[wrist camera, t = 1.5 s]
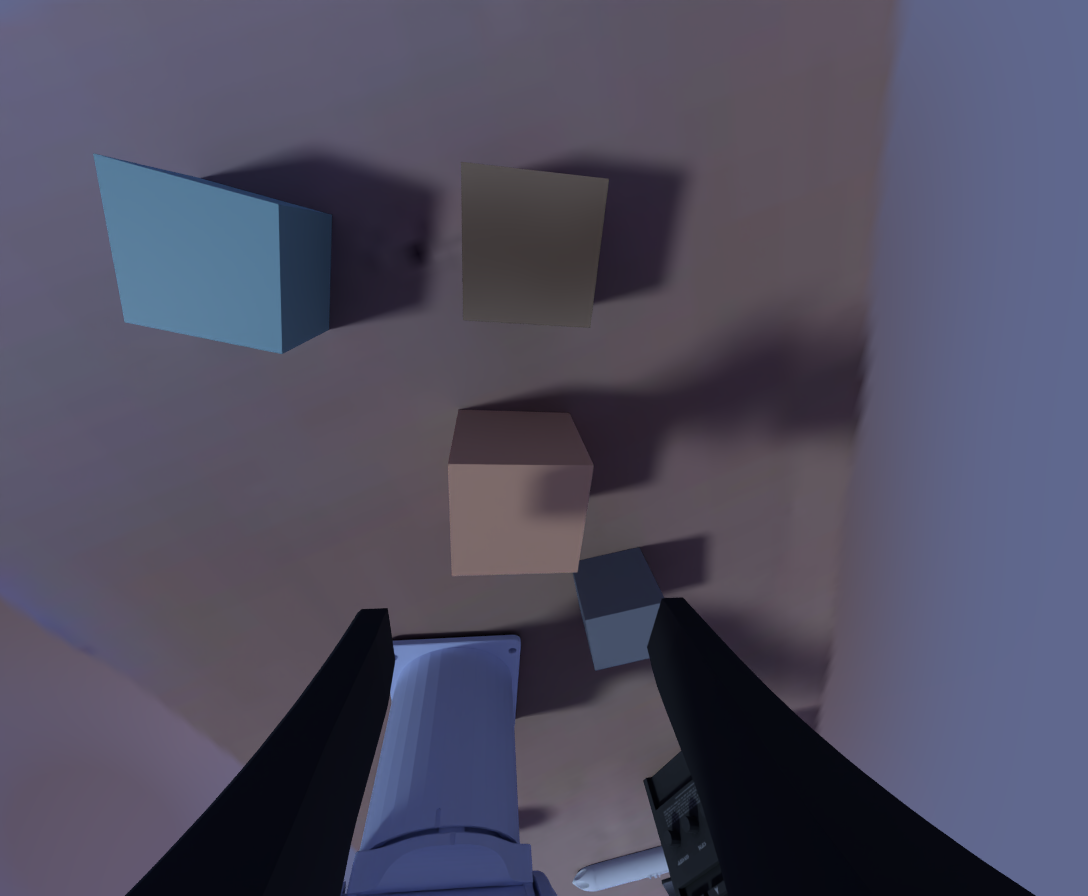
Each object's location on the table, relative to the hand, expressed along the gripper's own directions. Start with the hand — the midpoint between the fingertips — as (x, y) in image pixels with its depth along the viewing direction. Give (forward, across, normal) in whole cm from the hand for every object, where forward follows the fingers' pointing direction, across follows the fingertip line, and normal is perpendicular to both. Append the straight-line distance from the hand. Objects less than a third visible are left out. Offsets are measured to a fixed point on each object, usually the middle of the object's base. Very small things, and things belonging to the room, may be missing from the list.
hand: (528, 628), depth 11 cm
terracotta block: (+10, 0, 0) cm, 10 cm away
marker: (+9, -17, +48) cm, 52 cm away
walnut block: (+10, 0, -9) cm, 13 cm away
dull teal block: (+10, +9, -8) cm, 15 cm away
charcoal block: (+10, -6, +8) cm, 14 cm away
